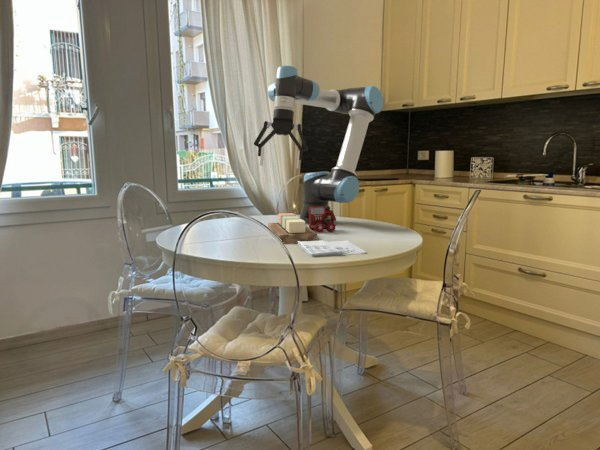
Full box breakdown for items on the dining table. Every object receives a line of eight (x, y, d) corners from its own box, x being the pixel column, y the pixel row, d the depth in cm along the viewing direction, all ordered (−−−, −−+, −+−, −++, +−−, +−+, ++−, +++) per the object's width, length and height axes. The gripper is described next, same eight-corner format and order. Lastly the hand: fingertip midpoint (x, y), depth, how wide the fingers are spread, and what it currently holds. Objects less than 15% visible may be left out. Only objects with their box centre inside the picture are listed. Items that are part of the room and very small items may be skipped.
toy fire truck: (339, 231, 180) (340, 206, 178) (312, 233, 175) (312, 207, 173) (331, 228, 186) (332, 204, 184) (305, 230, 181) (305, 205, 179)
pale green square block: (296, 226, 172) (297, 216, 172) (300, 228, 167) (300, 218, 166) (282, 226, 171) (282, 216, 170) (285, 229, 165) (285, 218, 165)
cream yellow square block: (301, 229, 165) (301, 219, 164) (305, 232, 159) (305, 221, 158) (286, 230, 163) (286, 219, 163) (289, 233, 158) (289, 222, 157)
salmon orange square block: (292, 222, 180) (292, 213, 179) (295, 225, 174) (295, 215, 174) (278, 223, 179) (278, 213, 178) (281, 225, 173) (281, 215, 172)
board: (300, 229, 183) (300, 221, 183) (317, 241, 158) (317, 233, 158) (268, 230, 180) (268, 222, 180) (279, 243, 155) (279, 234, 155)
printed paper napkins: (296, 245, 154) (296, 239, 154) (350, 243, 159) (350, 237, 159) (310, 258, 136) (310, 252, 136) (370, 256, 141) (370, 249, 140)
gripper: (249, 105, 158) (244, 163, 160) (317, 110, 157) (312, 169, 159) (251, 108, 165) (247, 164, 167) (317, 114, 165) (312, 170, 167)
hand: (279, 167), depth 163 cm, fingers open, 13 cm apart
